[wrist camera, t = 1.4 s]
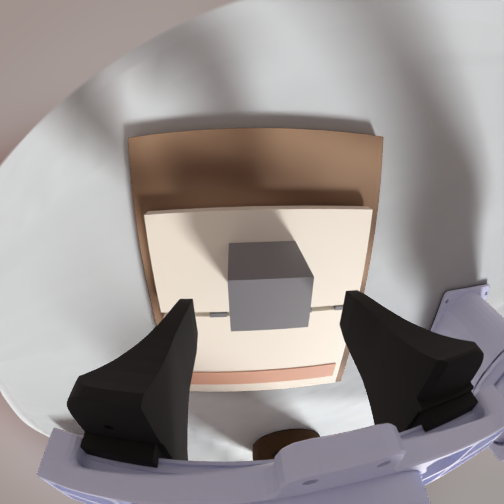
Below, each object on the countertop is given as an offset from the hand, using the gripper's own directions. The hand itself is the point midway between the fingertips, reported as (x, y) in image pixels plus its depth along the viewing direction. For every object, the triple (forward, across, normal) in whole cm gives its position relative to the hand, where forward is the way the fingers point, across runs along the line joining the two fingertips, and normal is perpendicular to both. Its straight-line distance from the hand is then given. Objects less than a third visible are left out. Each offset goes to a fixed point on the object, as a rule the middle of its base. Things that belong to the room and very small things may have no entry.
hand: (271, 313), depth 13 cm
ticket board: (+7, 0, +3) cm, 8 cm away
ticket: (+6, 0, +8) cm, 10 cm away
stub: (+6, 0, 0) cm, 6 cm away
